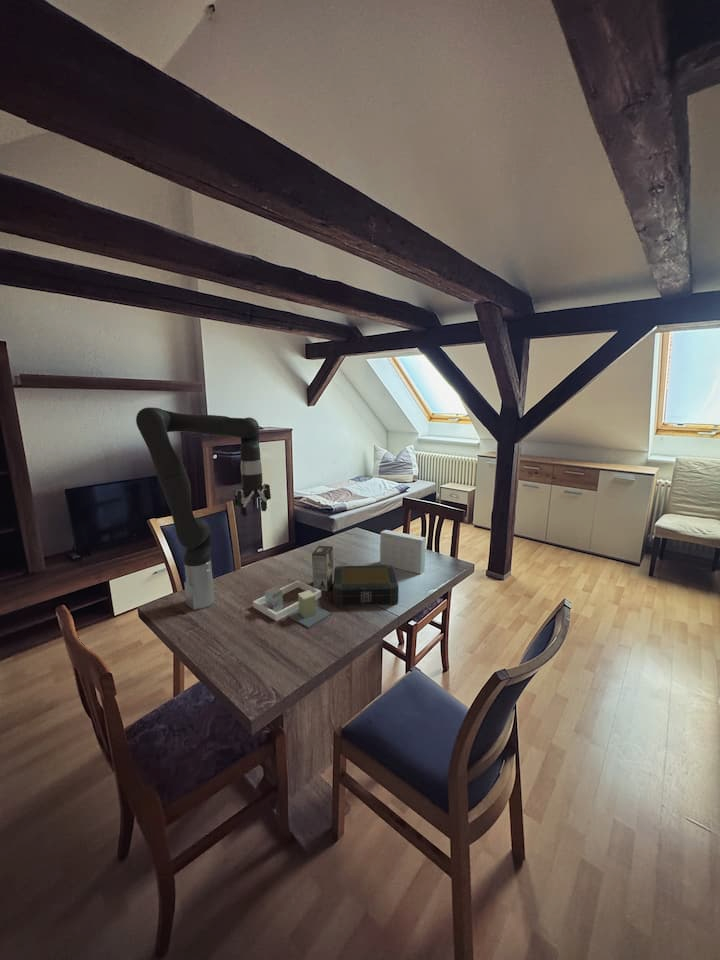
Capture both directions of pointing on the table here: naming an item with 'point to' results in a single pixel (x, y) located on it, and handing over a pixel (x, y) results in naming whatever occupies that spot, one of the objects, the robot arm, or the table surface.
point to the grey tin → (274, 599)
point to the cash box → (365, 585)
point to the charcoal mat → (310, 617)
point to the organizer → (288, 610)
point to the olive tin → (307, 603)
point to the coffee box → (322, 567)
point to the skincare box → (402, 551)
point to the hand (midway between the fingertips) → (254, 513)
